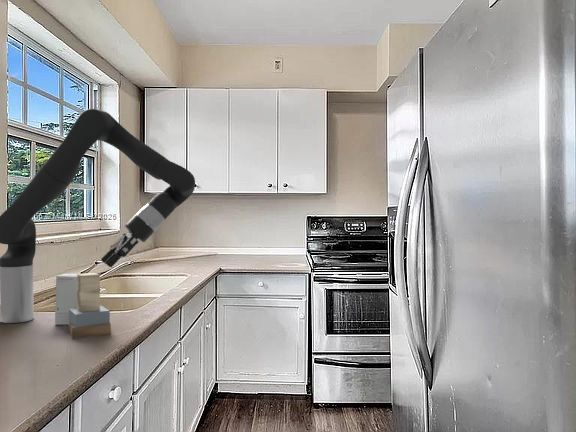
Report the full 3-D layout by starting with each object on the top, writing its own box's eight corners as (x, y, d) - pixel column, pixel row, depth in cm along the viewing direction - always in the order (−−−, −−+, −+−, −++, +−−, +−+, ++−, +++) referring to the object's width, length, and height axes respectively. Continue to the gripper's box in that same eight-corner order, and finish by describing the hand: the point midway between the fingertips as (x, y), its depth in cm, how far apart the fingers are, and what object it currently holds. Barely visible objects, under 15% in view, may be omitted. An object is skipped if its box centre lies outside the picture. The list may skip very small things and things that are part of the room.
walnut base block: (69, 332, 147) (68, 320, 147) (105, 328, 152) (105, 316, 151) (72, 340, 138) (72, 327, 138) (110, 336, 143) (110, 323, 143)
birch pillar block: (77, 309, 145) (77, 274, 145) (95, 307, 148) (95, 272, 148) (81, 311, 141) (81, 275, 141) (99, 310, 144) (99, 274, 144)
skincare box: (54, 325, 153) (53, 276, 153) (62, 320, 159) (61, 273, 159) (82, 324, 154) (82, 275, 153) (89, 320, 160) (89, 273, 159)
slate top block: (68, 321, 146) (68, 308, 146) (101, 317, 151) (101, 305, 151) (75, 327, 138) (75, 314, 138) (109, 323, 144) (109, 310, 144)
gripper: (131, 213, 156) (92, 252, 151) (141, 214, 144) (98, 257, 139) (149, 230, 159) (111, 269, 154) (160, 232, 146) (119, 275, 141)
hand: (105, 263), depth 146 cm, fingers open, 8 cm apart
